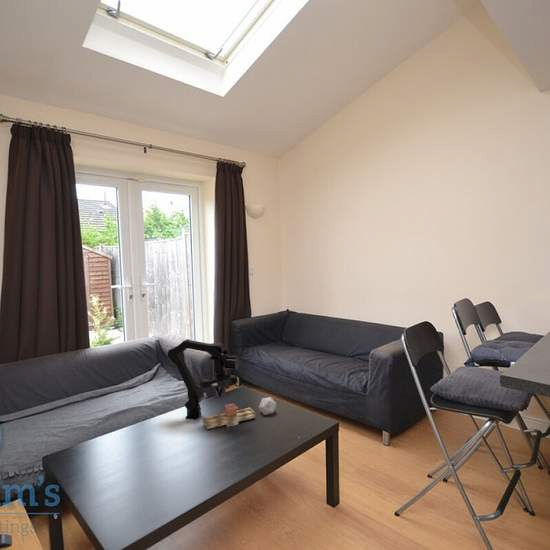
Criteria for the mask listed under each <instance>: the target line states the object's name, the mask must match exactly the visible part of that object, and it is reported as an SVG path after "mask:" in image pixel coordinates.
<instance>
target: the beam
mask: <svg viewBox="0 0 550 550" xmlns="http://www.w3.org/2000/svg"><path fill="white" fill-rule="evenodd" d="M255 418H256V412H255V411H254V409H252V408H251V407H250V406H248V407H247V408H242V409H239V410H238V409H237V415H234V416H230V417H226V412H225V413H220V414H215V415H211V416H206V417H203V418H202V423H203V424H204V426H205V428H206V429H207V430H208V429H213V428H217V427H222V426H224V425H225V426H226V427H227V428H229V427H233V426H238V425H239V422H243V421H247V420H250V419H255Z"/></svg>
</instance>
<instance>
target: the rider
mask: <svg viewBox="0 0 550 550" xmlns="http://www.w3.org/2000/svg"><path fill="white" fill-rule="evenodd" d="M224 408H225V413H226V417H230V416H234V415H237V410H238V409H239V408H238V406H237V405H236V404H235V403H229V404H224Z"/></svg>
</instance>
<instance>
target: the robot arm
mask: <svg viewBox="0 0 550 550" xmlns="http://www.w3.org/2000/svg"><path fill="white" fill-rule="evenodd" d="M187 349H189V350H194V351H199V352H200V351H201V352H205V353H207V354H208V355H210V357H209V358H208V360H209V361H212V365H213V366H212V367H213V368H212V371H213V372H212V373H213V377H212V379H211V380H210V379H209V378H202V379H200V381H199V385H200V386H198V385H197V384H196V383H195V380H194V378H193V376H192V374H191V372H190V370H189V367H188V365H187V362H186V361H185V351H187ZM167 357H168V359H169V360H170V362H171V363H172V364H173V365H175V366H176V368H177V370H178V373H179V374H180V377H181V379H182V381H183V383H184V385H185V387H186V389H187V399H188V400H187V401H186V402H185V403H184V407H185V408H186V416H185V419H189V420H198V419H199V418H200V416H201V415H202V407H201V404H200V403H202V401H203V399H204V398H205V391H204V390H203V389H206V388H210V387H211V386H212V388H214V389H215V392H216V395H217V397H218V398H221V396H222V394H223V391H224V389H225V387H227V386H228V384H229V383H231V384H237V383H238V379H239V378H238V377H237V376H236V375H235V374H230V375H229V374H228V375H227V374H226V371H225V369H226V370H236V371H237V370H238V369H239V366H240V361H239V358H238V355H230V353H229V352H228V350H227V348H226V346H225V344H224V343H222V342H214V343H208V342H204V341H203V342H201V341H198V340H191V339H187V338H186V339H185V340H183V341H181V343H179V344H178V345H176V346H174V347H172V348H171V349H169V350H168V351H167Z"/></svg>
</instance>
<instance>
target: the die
mask: <svg viewBox="0 0 550 550" xmlns="http://www.w3.org/2000/svg"><path fill="white" fill-rule="evenodd" d="M276 407H277V403H276V402H275V400H274V399H273V398H272V397H271V396H269V397H262V398H261V400H260V403H259V405H258V408H259V410H260V411H261V412H262V414H263V415H264V416H267V415H271V414H274V413H275V409H276Z"/></svg>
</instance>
